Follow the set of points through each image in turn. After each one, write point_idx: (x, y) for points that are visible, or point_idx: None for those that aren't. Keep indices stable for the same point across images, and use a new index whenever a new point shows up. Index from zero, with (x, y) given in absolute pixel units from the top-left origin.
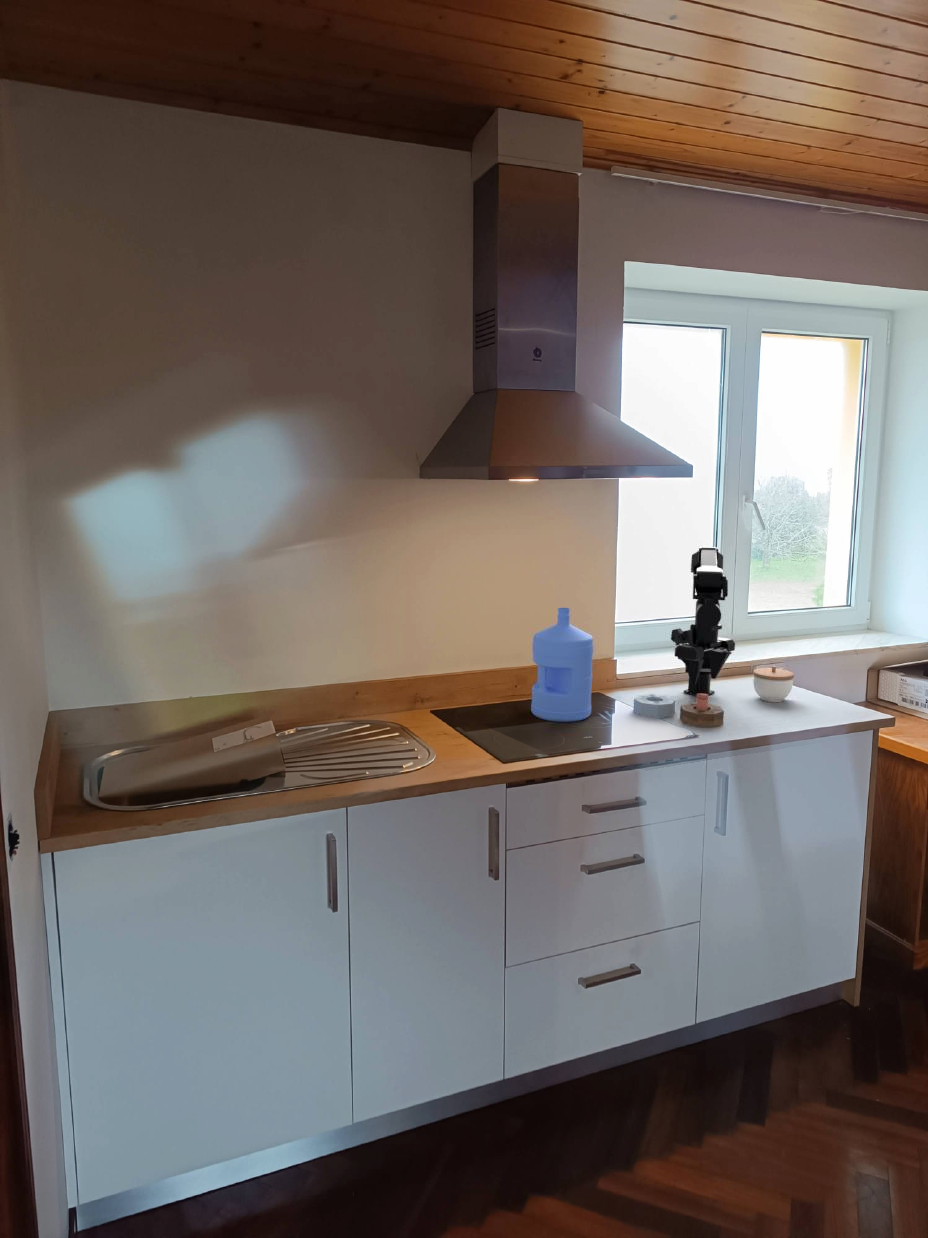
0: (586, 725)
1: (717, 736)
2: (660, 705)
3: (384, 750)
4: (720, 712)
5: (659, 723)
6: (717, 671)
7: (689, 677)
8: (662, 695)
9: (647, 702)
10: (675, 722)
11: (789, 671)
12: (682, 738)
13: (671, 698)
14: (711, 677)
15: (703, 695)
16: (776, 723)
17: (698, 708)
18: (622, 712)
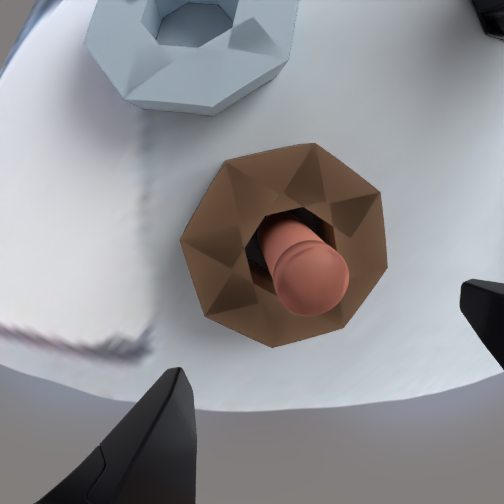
0: None
1: (202, 382)
2: (140, 100)
3: None
4: (316, 334)
5: (101, 178)
6: (495, 352)
7: (138, 405)
8: None
9: (110, 44)
10: (170, 194)
11: None
12: (86, 348)
13: (286, 33)
14: (465, 284)
15: (307, 295)
16: (447, 343)
17: (266, 259)
18: (83, 4)
